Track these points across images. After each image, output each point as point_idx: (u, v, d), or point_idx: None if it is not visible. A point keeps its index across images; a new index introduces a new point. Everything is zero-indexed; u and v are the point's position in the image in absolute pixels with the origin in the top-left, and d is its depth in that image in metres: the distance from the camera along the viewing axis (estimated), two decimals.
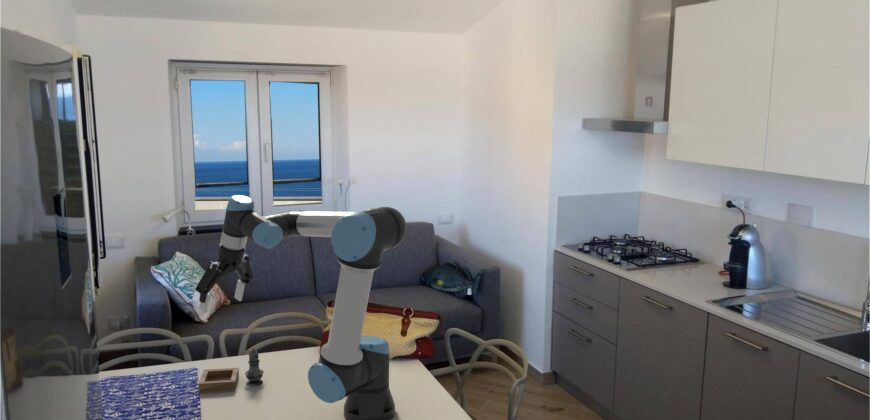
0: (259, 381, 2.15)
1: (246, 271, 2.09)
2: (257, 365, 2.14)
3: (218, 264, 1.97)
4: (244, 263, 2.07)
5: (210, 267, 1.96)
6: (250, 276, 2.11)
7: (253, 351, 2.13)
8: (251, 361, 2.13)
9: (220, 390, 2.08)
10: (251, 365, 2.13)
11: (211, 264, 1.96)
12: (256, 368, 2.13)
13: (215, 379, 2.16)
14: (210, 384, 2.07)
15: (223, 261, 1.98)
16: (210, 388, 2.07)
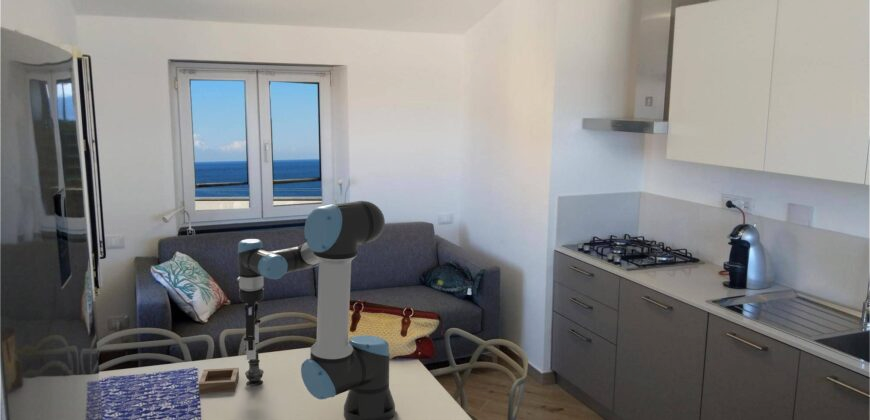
0: (259, 381, 2.15)
1: None
2: (257, 365, 2.14)
3: None
4: None
5: (249, 313, 2.04)
6: None
7: None
8: (251, 361, 2.13)
9: (220, 390, 2.08)
10: (251, 365, 2.13)
11: (250, 310, 2.04)
12: (256, 368, 2.13)
13: (215, 379, 2.16)
14: (210, 384, 2.07)
15: (254, 304, 2.08)
16: (210, 388, 2.07)
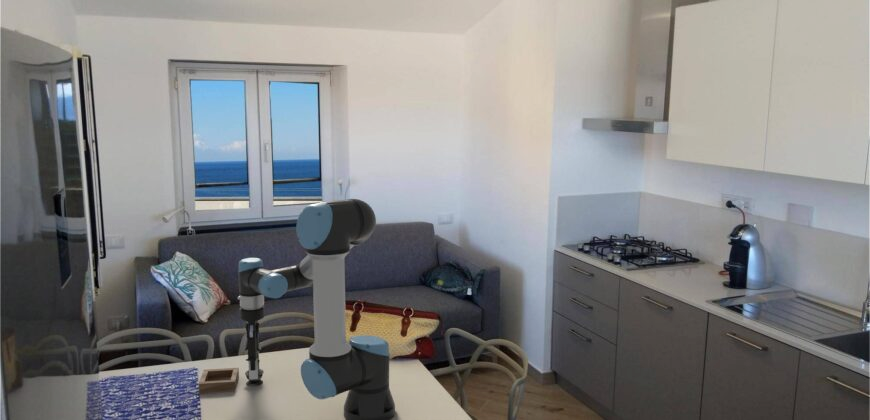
0: (259, 381, 2.15)
1: None
2: None
3: (253, 329, 2.08)
4: None
5: (250, 336, 2.06)
6: (258, 342, 2.19)
7: None
8: None
9: (220, 390, 2.08)
10: None
11: (251, 333, 2.06)
12: None
13: (215, 379, 2.16)
14: (210, 384, 2.07)
15: (254, 324, 2.08)
16: (210, 388, 2.07)
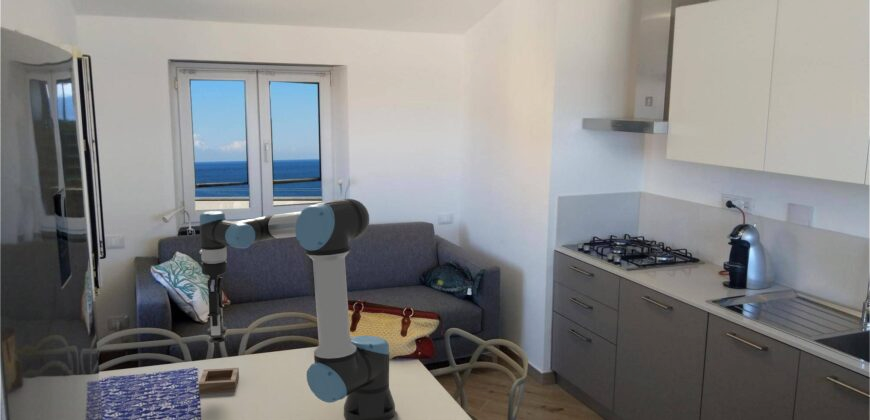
0: (222, 338, 2.11)
1: None
2: (220, 321, 2.09)
3: (214, 283, 2.03)
4: None
5: (212, 290, 2.02)
6: (222, 299, 2.15)
7: None
8: None
9: (220, 390, 2.08)
10: None
11: (212, 287, 2.01)
12: None
13: (215, 379, 2.16)
14: (210, 384, 2.07)
15: (216, 278, 2.04)
16: (210, 388, 2.07)
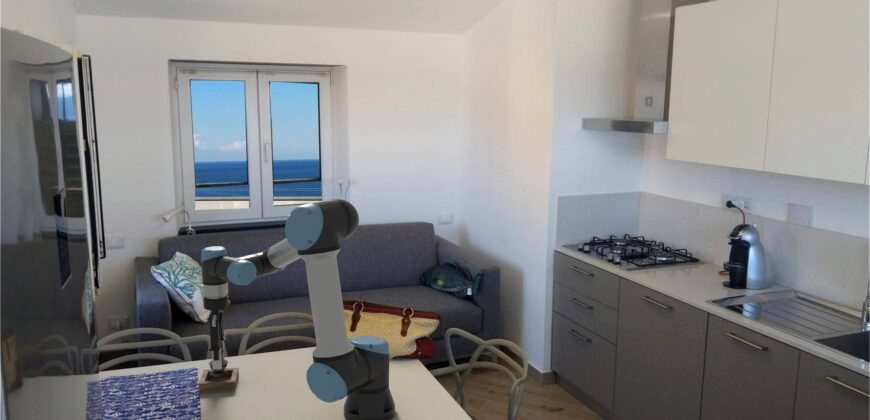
0: (223, 371, 2.13)
1: None
2: (221, 355, 2.11)
3: (216, 318, 2.05)
4: None
5: (213, 325, 2.03)
6: (223, 332, 2.16)
7: None
8: None
9: (220, 390, 2.08)
10: None
11: (213, 322, 2.03)
12: None
13: (215, 379, 2.16)
14: (210, 384, 2.07)
15: (217, 313, 2.06)
16: (210, 388, 2.07)
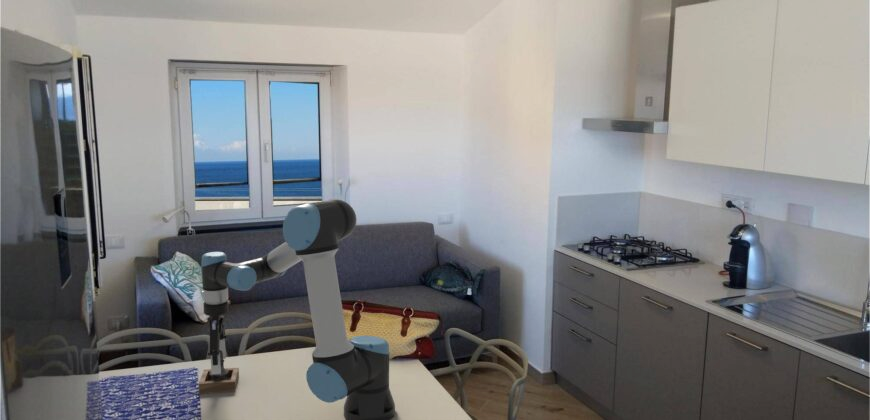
0: None
1: None
2: (221, 365, 2.11)
3: (216, 322, 2.05)
4: None
5: (213, 328, 2.03)
6: (224, 331, 2.19)
7: None
8: None
9: (220, 390, 2.08)
10: None
11: (213, 324, 2.03)
12: (221, 368, 2.11)
13: None
14: (210, 384, 2.07)
15: (218, 318, 2.06)
16: (210, 388, 2.07)
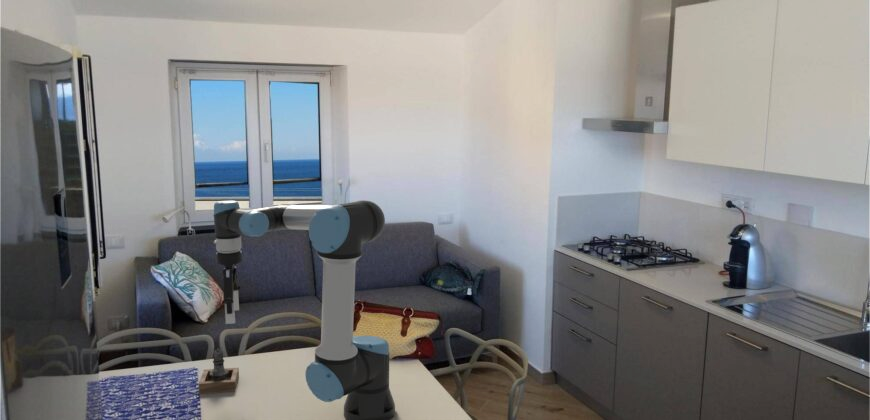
0: None
1: None
2: (222, 365, 2.11)
3: None
4: None
5: (227, 275, 1.99)
6: (237, 282, 2.15)
7: (217, 350, 2.11)
8: (215, 361, 2.11)
9: (220, 390, 2.08)
10: (215, 365, 2.11)
11: (227, 271, 1.99)
12: (221, 368, 2.11)
13: None
14: (210, 384, 2.07)
15: (231, 267, 2.02)
16: (210, 388, 2.07)
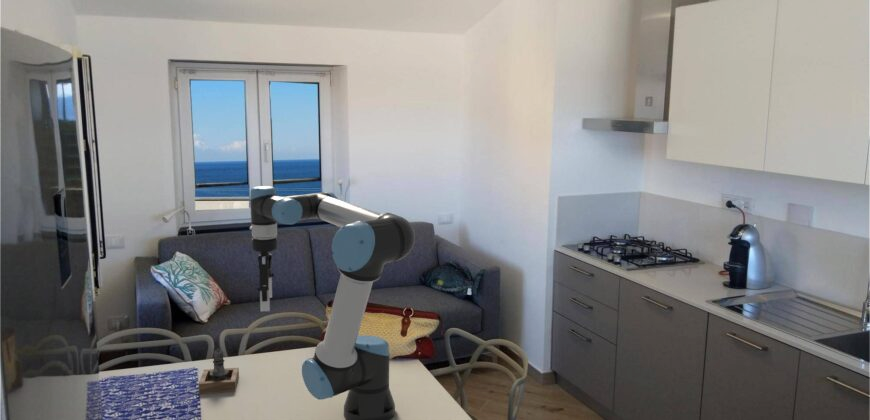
0: None
1: None
2: (222, 365, 2.11)
3: None
4: None
5: (263, 262, 1.96)
6: None
7: (217, 351, 2.11)
8: (215, 361, 2.10)
9: (220, 390, 2.08)
10: (216, 365, 2.11)
11: (263, 258, 1.95)
12: (221, 368, 2.11)
13: None
14: (210, 384, 2.07)
15: (267, 253, 1.99)
16: (210, 388, 2.07)
